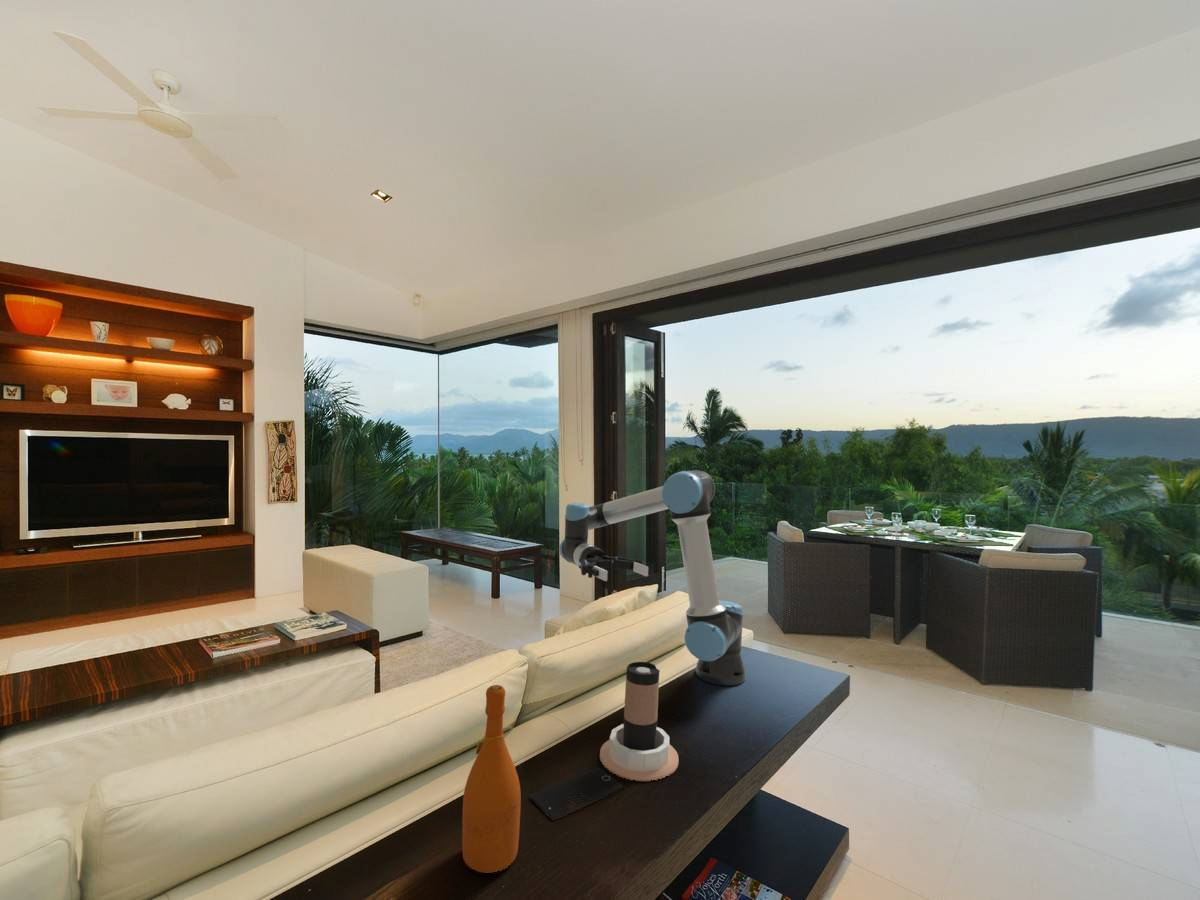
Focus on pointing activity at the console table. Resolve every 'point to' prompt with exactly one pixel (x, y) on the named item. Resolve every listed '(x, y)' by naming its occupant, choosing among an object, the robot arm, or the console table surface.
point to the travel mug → (641, 706)
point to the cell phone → (591, 781)
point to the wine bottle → (491, 797)
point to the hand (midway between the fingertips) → (627, 573)
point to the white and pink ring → (639, 757)
